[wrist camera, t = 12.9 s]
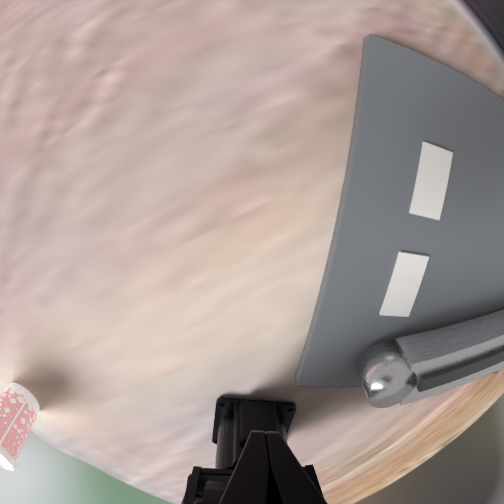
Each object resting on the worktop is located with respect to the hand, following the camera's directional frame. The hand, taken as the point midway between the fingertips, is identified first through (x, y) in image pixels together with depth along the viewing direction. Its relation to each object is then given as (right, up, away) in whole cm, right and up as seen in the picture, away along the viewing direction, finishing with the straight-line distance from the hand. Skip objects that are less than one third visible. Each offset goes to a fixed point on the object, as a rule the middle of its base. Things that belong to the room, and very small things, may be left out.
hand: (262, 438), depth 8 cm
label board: (+16, +6, +11) cm, 20 cm away
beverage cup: (-26, -11, +16) cm, 32 cm away
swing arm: (+17, -2, +12) cm, 20 cm away
